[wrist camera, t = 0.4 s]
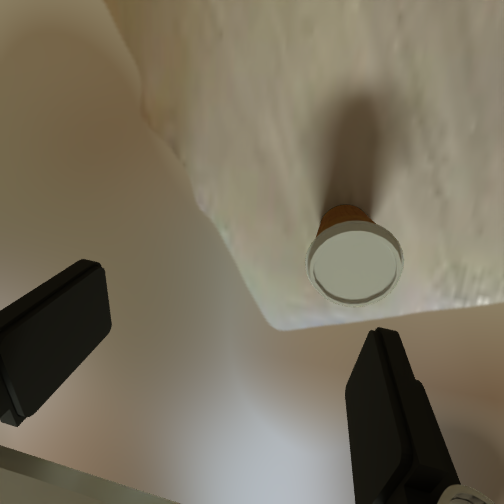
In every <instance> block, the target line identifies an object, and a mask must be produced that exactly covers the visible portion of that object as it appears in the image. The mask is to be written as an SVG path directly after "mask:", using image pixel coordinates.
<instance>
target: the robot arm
mask: <svg viewBox="0 0 504 504" xmlns="http://www.w3.org/2000/svg"><path fill="white" fill-rule="evenodd" d="M111 325H112V323H111V315H110V307H109V300H108V292H107V284H106V276H105V270H104V268H102V267H101V264H100V263H98V262H94V261H90V260H86V259H81V260H79V261H77V262H76V263H74V264H73V265H71V266H69V267H68V268H66V269H65V270H63V271H62V272H60V273H59V274H57V275H55V276H54V277H52V278H51V279H49V280H48V281H46V282H45V283H43V284H41V285H40V286H38V287H37V288H35V289H34V290H32V291H30V292H29V293H27V294H26V295H24V296H23V297H21V298H20V299H18V300H16V301H15V302H13V303H12V304H10V305H9V306H7V307H5V308H4V309H3V310H1V311H0V420H1V422H3V423H6V424H9V425H12V426H15V427H18V426H19V425H20V424H21V422H23V420H24V419H25V418H26V417H30V416H31V415H33V414H34V413H35V412H37V410H38V409H39V408H40V407H41V406H42V405H43V404H44V403H45V402H46V401H47V400H48V399H49V397H50V396H51V395H52V394H53V393H54V392H55V391H56V390H57V389H58V388H59V387H60V386H61V384H62V383H63V382H64V381H65V380H66V379H67V378H68V377H69V376H70V375H71V373H72V372H73V371H74V370H75V369H76V368H77V367H78V366H79V365H80V364H81V363H82V362H83V361H84V360H85V359H86V357H87V356H88V355H89V354H90V353H91V352H92V351H93V350H94V349H95V348H96V347H97V346H98V344H99V343H100V342H101V341H102V340H103V339H104V338H105V337H106V336H107V335H108V333H109V332H110V329H111ZM345 400H346V410H347V420H348V431H349V441H350V452H351V461H352V473H353V483H354V493H355V504H495V503H494V502H492V501H491V500H490V499H489V498H487V497H486V496H485V495H483V494H482V493H480V492H479V491H476V490H475V489H473V488H470V487H468V486H464V485H461V483H460V481H459V478H458V476H457V473H456V470H455V468H454V465H453V463H452V460H451V457H450V455H449V452H448V449H447V447H446V444H445V441H444V439H443V436H442V434H441V431H440V428H439V426H438V423H437V421H436V418H435V415H434V413H433V410H432V407H431V405H430V402H429V400H428V397H427V394H426V392H425V389H424V387H423V385H422V383H421V382H420V381H419V380H415V377H414V374H413V372H412V369H411V366H410V363H409V361H408V358H407V355H406V352H405V349H404V347H403V344H402V341H401V338H400V336H399V334H398V332H397V331H393V330H389V329H384V328H380V327H378V328H377V329H376V330H375V331H373V330H371V331H369V333H368V336H367V338H366V340H365V343H364V345H363V347H362V350H361V352H360V354H359V357H358V359H357V362H356V364H355V366H354V368H353V371H352V373H351V376H350V378H349V380H348V383H347V385H346V390H345ZM0 504H180V503H177V502H174V501H170V500H167V499H165V498H161V497H158V496H155V495H152V494H149V493H146V492H143V491H140V490H137V489H134V488H131V487H128V486H125V485H122V484H119V483H116V482H112V481H109V480H106V479H103V478H100V477H97V476H94V475H91V474H88V473H85V472H81V471H78V470H75V469H72V468H69V467H66V466H63V465H60V464H57V463H54V462H51V461H47V460H44V459H41V458H38V457H35V456H32V455H29V454H26V453H22V452H19V451H16V450H13V449H10V448H7V447H4V446H1V445H0Z"/></svg>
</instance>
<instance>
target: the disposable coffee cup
mask: <svg viewBox="0 0 504 504" xmlns="http://www.w3.org/2000/svg"><path fill="white" fill-rule="evenodd" d="M403 265H404V257H403V251H402V248H401V246H400V244H399V242H398V241H397V239H396V238H395V237H394V236H393V235H392V234H391V233H390V232H389V231H388V230H386V229H385V228H383V227H381V226H380V225H377V224H376V223H374V222H373V221H372V220H371V219H370V218H369V217H368V216H367V215H366V214H365V213H364V212H363V211H362V210H361V209H359V208H357V207H355V206H352V205H340V206H336V207H334V208H332V209H331V210H329V211H328V212H327V213H326V214H325V215H324V217H323V218H322V221H321V224H320V227H319V230H318V232H317V235H316V238H315V240H314V241H313V242H312V243H311V245H310V247H309V249H308V251H307V255H306V260H305V268H306V273H307V276H308V279H309V281H310V282H311V284H312V285H313V287H314V288H315V289H316V290H317V291H318V292H319V293H320V294H321V295H322V296H323V297H324V298H325V299H327V300H329V301H331V302H333V303H335V304H338V305H342V306H347V307H362V306H366V305H370V304H373V303H376V302H378V301H380V300H382V299H383V298H385V297H386V296H387V295H388V294H390V293H391V291H392V290H393V289H394V288H395V287H396V285H397V283H398V281H399V278H400V276H401V273H402V270H403Z"/></svg>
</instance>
